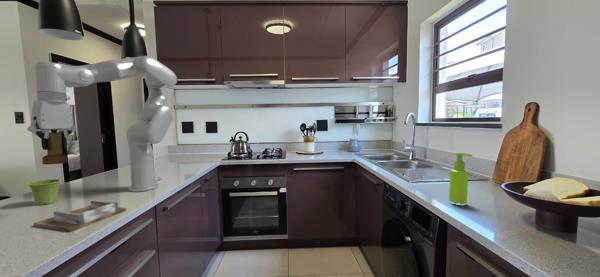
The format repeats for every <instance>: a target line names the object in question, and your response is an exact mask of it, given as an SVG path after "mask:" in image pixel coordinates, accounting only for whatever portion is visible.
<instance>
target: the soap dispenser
mask: <svg viewBox="0 0 600 277" xmlns="http://www.w3.org/2000/svg"><path fill="white" fill-rule="evenodd" d="M455 156H456V157H457V158H456V161H454V165H453V166H454V168H453V169H450V172H449V177H450V178H449V196H448V198H449V199H448V201H449V200H450V201H451V202H454V203H460V204H465V203H467V204H468V185H469V184H468V183H469V182H468V181H469V171H468V170H465V164H466V163H465V161H463V156H468V157H473V155H472V154H469V153H463V152H460V153H459V152H458V153H456V152H455Z"/></svg>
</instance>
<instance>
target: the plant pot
mask: <svg viewBox="0 0 600 277" xmlns="http://www.w3.org/2000/svg"><path fill="white" fill-rule="evenodd" d="M61 181H62V179H59V178H51V179H42V180H37V181H31V182H29V183H27V185H28V186H29V188H30V189H31V193H32V196H33V199H34V202H35V203H34V204H35V205H36V206H43V205H45V204H46V205H47V204H48V205H49V204H54V203H56V202H57V201H58V194H59V186H60V182H61Z"/></svg>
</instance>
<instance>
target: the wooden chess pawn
mask: <svg viewBox="0 0 600 277" xmlns="http://www.w3.org/2000/svg"><path fill="white" fill-rule="evenodd" d="M49 139H51V150H46V152H47V153H46V154H47V155H44V156H43V157H42V165H59V164H60V165H61V164H66V163H69V156H68V155H66V154H63V149H62V132H58V130H50V132H49Z"/></svg>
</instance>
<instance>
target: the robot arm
mask: <svg viewBox="0 0 600 277" xmlns="http://www.w3.org/2000/svg"><path fill="white" fill-rule="evenodd" d="M34 69H35V70H34V71H35V82H36V83H35V85H36V99H37V100H34V101H33V103H32V106H31V107H32V108H31V115H30V117H31V119H30V125H29V127H28V128H27V131H28V132H31V133H32V134H35V136H37V137H38V138H39V139H41V142H40V143H41V147H42V150H43V151H44V150H45V151H47V150H51V139H49V132H51V130H57V132H62V150H65V149H66V150H67V146H68V141H67V140H68V139H67V138H69V136H70V135H71V134H72V133H74V132H75V131H77V129H78V128H77V127H76V125H75V124H74V122H73V115H72V109H71V106H70V103H69V102H67V101H70V100H71V97H70V96H69V95H67V88H68V89H69V88H79V87H82V88H83V87H87V86H90V85H92V84H95V83H96V84H97V83H107V82H109V83H110V82H115V81H121V80H125V79H131V78H136V77H141V76H145V77H144V82H145V84H146V87H147V88H148V91H149V92H148V93H149V94H148V97H147V99H146V101H145V104H143V107H142V109H141V110H140V112H139V119H140V121H141V122H142V123H134V124H132V125H129V127H128V128H127V130H126V132H125V133H126V134H125V135H126V136H125V137H126V140H127V144H128V151H129V163H130V164H129V165H130V177H131V178H130V179H131V183H130V184H131V185H129V186H127V190H128V192H136V193H137V192H146V191H150V190H151V191H152V190H154V189H156V188H158V187H159V184H158V183H157V182H159V181H162V180H163V178H162V176H157V177H156V176H155V165H154V151H153V150H154V149H153V147H152V145H156V144H158V143H161V141H163V140H164V138H165V136H166V134H167V132H168V131H169V128H170V126H171V124H172V121H173V117H174V116H173V115H174V114H173V110H172V108H171V107H170V106H168V105H167V103H168V95H167V92H166V90H165V89H167V88H172V87H174V86H175V85H176V84H177V82H178V77H177V75H176V74H175V72H174V71H173V70H171V69H170V68H168V67H167V66H166V65H165V64H163V63H162V62H161V61H159V60H157V59H155V58H154V57H152V56H149V55H141V56H134V57H133V56H132V57H126V58H125V57H124V58H118V59H110V60H103V61H99V62H96V63H90V64H84V65H67V64H66V65H65V64H61V63H57V62H52V61H51V62H50V61H38V62H36V63H35V68H34Z"/></svg>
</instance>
